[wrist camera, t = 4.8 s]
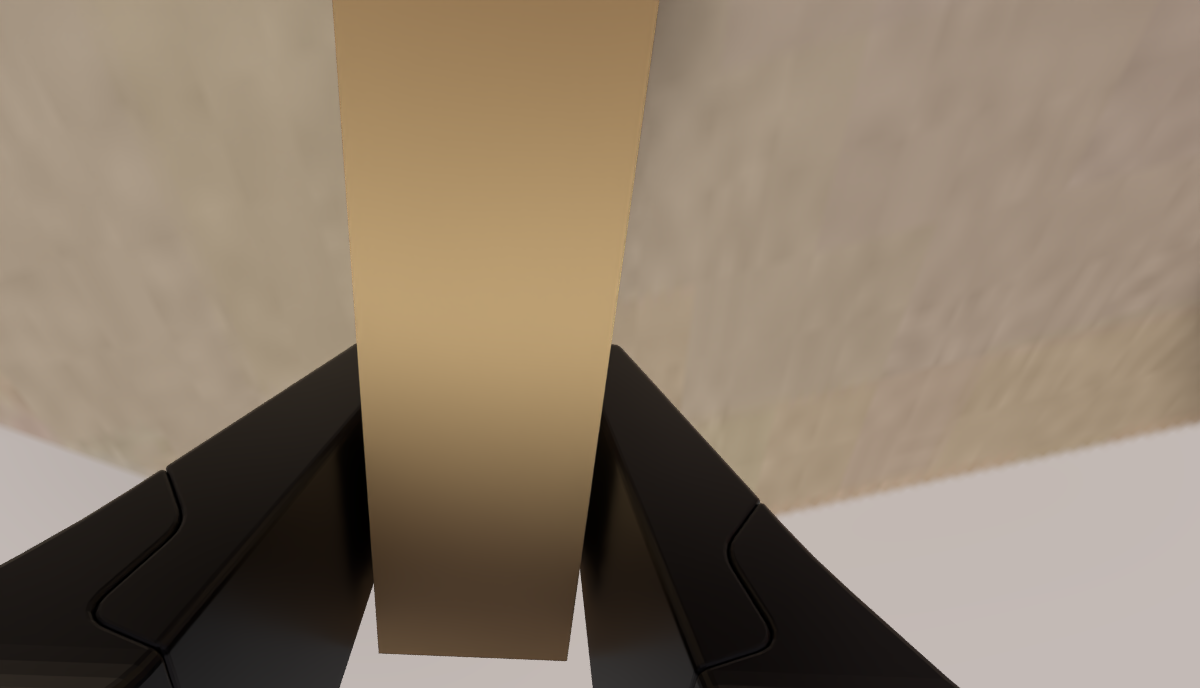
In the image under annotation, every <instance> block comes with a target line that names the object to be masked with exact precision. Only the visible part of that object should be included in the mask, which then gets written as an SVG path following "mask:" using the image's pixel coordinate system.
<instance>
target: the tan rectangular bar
mask: <svg viewBox="0 0 1200 688" xmlns="http://www.w3.org/2000/svg"><path fill="white" fill-rule="evenodd" d="M332 2H333V16H334V30H335V44H336V59H337V73H338V87H339V101H340V115H341V129H342V143H343V157H344V171H345V185H346V199H347V213H348V227H349V241H350V255H351V269H352V283H353V297H354V311H355V325H356V339H357V353H358V368H359V382H360V396H361V410H362V424H363V438H364V452H365V466H366V480H367V494H368V508H369V522H370V536H371V550H372V564H373V578H374V592H375V606H376V620H377V634H378V648H379V653H383V654H407V655H431V656H432V655H433V656H457V657H480V658H504V659H505V658H506V659H528V660H553V661H567V656H568V649H569V642H570V635H571V627H572V620H573V613H574V605H575V599H576V592H577V585H578V577H579V570H580V563H581V556H582V549H583V542H584V535H585V527H586V520H587V513H588V506H589V499H590V492H591V484H592V477H593V470H594V463H595V456H596V449H597V442H598V434H599V427H600V420H601V413H602V406H603V399H604V392H605V384H606V377H607V370H608V363H609V356H610V349H611V342H612V334H613V327H614V320H615V313H616V306H617V299H618V292H619V284H620V277H621V270H622V263H623V256H624V249H625V242H626V234H627V227H628V220H629V213H630V206H631V199H632V192H633V184H634V177H635V170H636V163H637V156H638V149H639V142H640V134H641V127H642V120H643V113H644V106H645V99H646V92H647V84H648V77H649V70H650V63H651V56H652V49H653V41H654V34H655V27H656V20H657V13H658V6H659V0H332Z"/></svg>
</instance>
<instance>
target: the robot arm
mask: <svg viewBox="0 0 1200 688" xmlns="http://www.w3.org/2000/svg"><path fill="white" fill-rule="evenodd" d="M166 471H167V472H166ZM166 471H165V470H160V471H158V472H157V473H155V474H153V475H152V476H150V477H149V478H147V479H146V480H144V481H143V482H141V483H140V484H138V485H136V486H135V487H134V488H132V489H130V490H129V491H127V492H126V493H124V494H122V495H121V496H119V497H117V498H116V499H114V500H112V501H111V502H109V503H108V504H106V505H104V506H103V507H101V508H100V509H98V510H96V511H95V512H93V513H92V514H90V515H88V516H87V517H85V518H83V519H82V520H80V521H78V522H76V523H75V524H73V525H71V526H70V527H68V528H66V529H64V530H62V531H61V532H59V533H57V534H55V535H54V536H52V537H50V538H48V539H47V540H45V541H43V542H41V543H39V544H38V545H36V546H34V547H32V548H31V549H29V550H27V551H25V552H24V553H22V554H20V555H18V556H16V557H15V558H13V559H11V560H9V561H7V562H5V563H3V564H2V565H0V688H339V687H340V684H341V681H342V678H343V675H344V672H345V669H346V666H347V663H348V660H349V656H350V653H351V651H352V648H353V644H354V641H355V638H356V635H357V632H358V629H359V626H360V623H361V620H362V617H363V614H364V611H365V608H366V605H367V601H368V599H369V595H370V593H371V590H372V586H373V583H374V578H373V564H372V550H371V536H370V522H369V508H368V494H367V480H366V466H365V452H364V438H363V424H362V410H361V396H360V382H359V368H358V353H357V343H356V344H354V345H353V346H351V347H350V348H348V349H347V350H345V351H344V352H342V353H341V354H339V355H337V356H336V357H334V358H333V359H331V360H330V361H328V362H327V363H325V364H324V365H322V366H321V367H319V368H317V369H316V370H314V371H313V372H311V373H310V374H308V375H307V376H305V377H304V378H302V379H300V380H299V381H297V382H296V383H294V384H293V385H291V386H290V387H288V388H287V389H285V390H283V391H282V392H280V393H279V394H277V395H276V396H274V397H273V398H271V399H270V400H268V401H267V402H265V403H263V404H262V405H260V406H259V407H257V408H256V409H254V410H253V411H251V412H250V413H248V414H246V415H245V416H243V417H242V418H240V419H239V420H237V421H236V422H234V423H233V424H231V425H229V426H228V427H226V428H225V429H223V430H222V431H220V432H219V433H217V434H216V435H214V436H213V437H211V438H209V439H208V440H206V441H205V442H203V443H202V444H200V445H199V446H197V447H196V448H194V449H192V450H191V451H189V452H188V453H186V454H185V455H183V456H182V457H180V458H179V459H177V460H176V461H174V462H172V463H171V464H169V465H168V466H167V467H166ZM580 573H581V582H582V592H583V601H584V610H585V620H586V629H587V637H588V647H589V656H590V666H591V675H592V685H593V688H959V687H958V686H957V685H956V684H955V683H953V682H952V681H951V680H950V679H949V678H947V677H946V676H945V675H944V674H943V673H942V672H941V671H939V670H938V669H937V668H936V667H935V666H934V665H933V664H932V663H931V662H930V661H928V660H927V659H926V658H925V657H924V656H923V655H922V654H921V653H919V652H918V651H917V650H916V649H915V648H914V647H913V646H911V645H910V644H909V643H908V642H907V641H906V640H905V639H904V638H903V637H902V636H900V635H899V634H898V633H897V632H896V631H895V630H894V629H893V628H891V627H890V626H889V625H888V624H887V623H886V622H885V621H883V619H881V618H880V617H879V616H878V615H877V614H876V613H875V612H874V611H872V610H871V609H870V608H869V607H868V606H867V605H866V604H865V603H863V602H862V601H861V600H860V599H859V598H858V597H857V596H856V595H854V594H853V593H852V592H851V591H850V590H849V589H848V588H847V587H846V586H845V585H844V584H843V583H841V582H840V581H839V580H838V579H837V578H836V577H835V576H834V575H833V574H832V573H831V572H830V571H829V570H828V569H827V568H825V567H824V566H823V565H822V564H821V563H820V562H819V561H818V560H817V559H816V558H815V557H814V556H813V555H812V554H811V553H810V552H809V551H808V550H807V549H806V548H805V547H804V546H803V545H802V544H801V543H800V542H799V541H798V540H797V539H796V538H795V537H794V536H793V534H792V533H791V532H790V531H788V529H787V528H786V527H785V526H784V525H783V524H782V523H781V522H780V521H779V520H778V519H777V518H776V516H775V515H774V514H773V513H772V512H771V511H770V510H769V509H768V508H767V507H766V505H765V504H762V503H760V500H759V498H758V497H757V496H756V495H755V494H754V493H753V492H752V490H751V489H750V488H749V487H748V486H747V485H746V484H745V483H744V482H743V481H742V480H741V478H740V477H739V476H738V475H737V474H736V473H735V472H734V471H733V470H732V469H731V467H730V466H729V465H728V464H727V463H726V462H725V461H724V460H723V459H722V458H721V456H720V455H719V454H718V453H717V452H716V451H715V450H714V449H713V448H712V447H711V446H710V444H709V443H708V442H707V441H706V440H705V439H704V438H703V437H702V436H701V435H700V433H699V432H698V431H697V430H696V429H695V428H694V427H693V426H692V425H691V424H690V422H689V421H688V420H687V419H686V418H685V417H684V416H683V415H682V414H681V413H680V411H679V410H678V409H677V408H676V407H675V406H674V405H673V404H672V403H671V402H670V401H669V399H668V398H667V397H666V396H665V395H664V394H663V393H662V392H661V391H660V390H659V388H658V387H657V386H656V385H655V384H654V383H653V382H652V381H651V380H650V379H649V377H648V376H647V375H646V374H645V373H644V372H643V371H642V370H641V369H640V368H639V367H638V365H637V364H636V363H635V362H634V361H633V360H632V359H631V358H630V357H629V356H628V354H627V353H626V352H625V351H624V350H623V349H622V348H621V347H620V346H618V345H614V344H611V349H610V356H609V363H608V370H607V377H606V384H605V392H604V399H603V406H602V413H601V420H600V427H599V434H598V442H597V449H596V456H595V463H594V470H593V477H592V484H591V492H590V499H589V506H588V513H587V520H586V527H585V535H584V542H583V549H582V556H581V563H580Z"/></svg>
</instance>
